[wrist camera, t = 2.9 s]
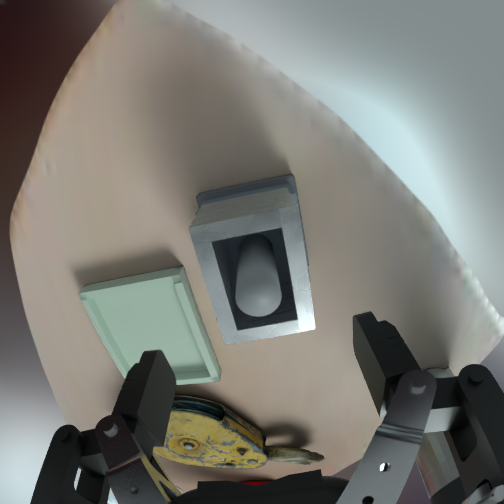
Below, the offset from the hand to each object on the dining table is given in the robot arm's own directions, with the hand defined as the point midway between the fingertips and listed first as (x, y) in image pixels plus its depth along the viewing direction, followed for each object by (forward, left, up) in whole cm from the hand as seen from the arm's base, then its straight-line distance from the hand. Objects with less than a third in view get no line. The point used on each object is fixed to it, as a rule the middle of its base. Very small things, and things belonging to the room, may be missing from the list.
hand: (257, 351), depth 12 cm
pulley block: (+10, +29, -16) cm, 34 cm away
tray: (+13, +9, -16) cm, 22 cm away
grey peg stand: (0, 0, -16) cm, 16 cm away
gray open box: (0, 0, -11) cm, 11 cm away
